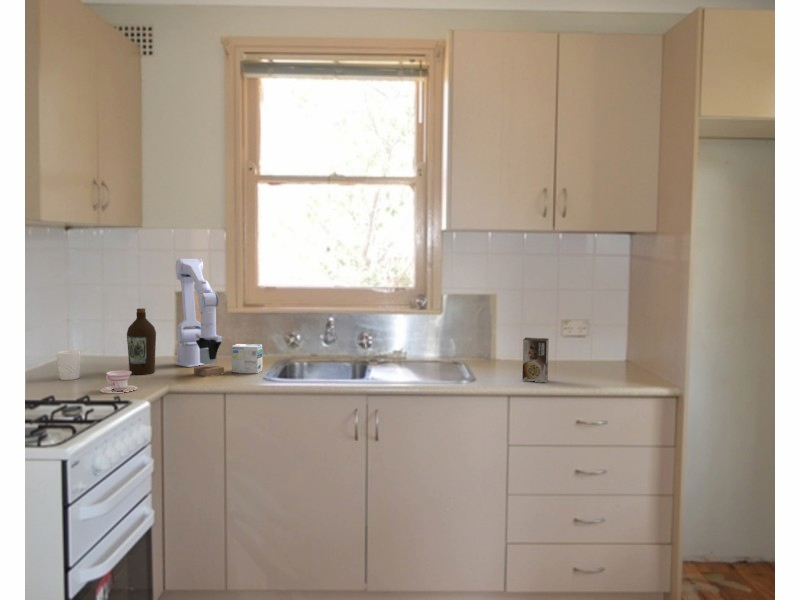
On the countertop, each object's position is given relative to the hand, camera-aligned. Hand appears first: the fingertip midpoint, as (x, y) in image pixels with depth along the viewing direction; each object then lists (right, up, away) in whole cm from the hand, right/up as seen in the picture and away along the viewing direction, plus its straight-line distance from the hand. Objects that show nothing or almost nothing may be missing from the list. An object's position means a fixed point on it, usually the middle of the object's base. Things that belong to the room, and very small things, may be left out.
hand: (208, 358), depth 272 cm
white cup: (-49, -7, -11) cm, 50 cm away
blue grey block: (0, -2, 0) cm, 2 cm away
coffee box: (+125, -8, -5) cm, 126 cm away
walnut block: (0, -7, +1) cm, 6 cm away
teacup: (-23, -9, -30) cm, 38 cm away
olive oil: (-26, -6, +2) cm, 27 cm away
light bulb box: (+14, -6, +6) cm, 16 cm away
